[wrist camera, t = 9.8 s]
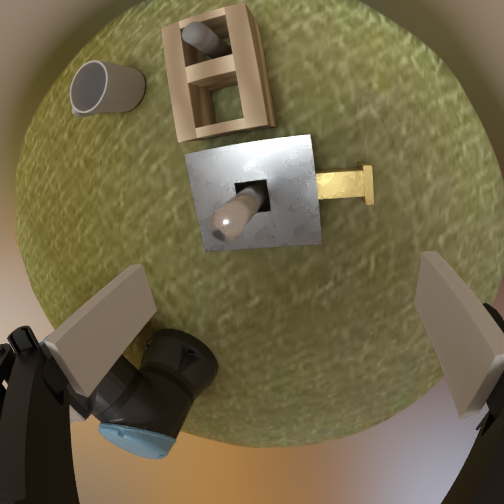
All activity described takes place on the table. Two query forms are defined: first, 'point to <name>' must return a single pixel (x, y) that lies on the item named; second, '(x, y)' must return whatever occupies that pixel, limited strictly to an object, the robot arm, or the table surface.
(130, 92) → the cup
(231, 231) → the round-ended peg
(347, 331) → the table surface
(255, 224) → the socket block
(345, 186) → the brass square peg
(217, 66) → the rack
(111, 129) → the table surface
